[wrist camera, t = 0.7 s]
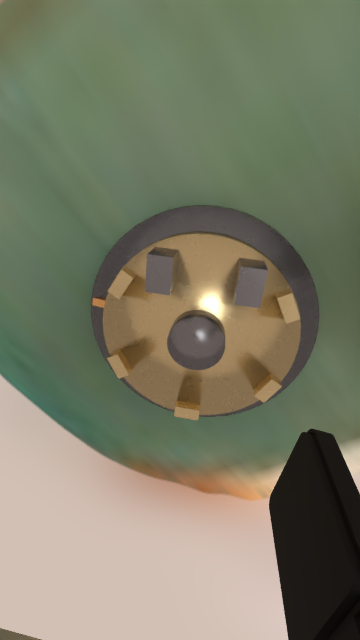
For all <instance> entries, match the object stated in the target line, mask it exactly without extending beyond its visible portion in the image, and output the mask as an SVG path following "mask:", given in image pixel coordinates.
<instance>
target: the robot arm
mask: <svg viewBox="0 0 360 640" xmlns="http://www.w3.org/2000/svg"><path fill="white" fill-rule="evenodd" d="M269 509H270V516H271V522H272V529H273V537H274V543H275V550H276V557H277V564H278V571H279V577H280V584H281V591H282V598H283V605H284V611H285V618H286V624H287V632H288V639H289V640H360V494H359V492H358V489H357V487H356V485H355V483H354V480H353V478H352V476H351V473H350V471H349V469H348V467H347V464H346V462H345V460H344V458H343V455H342V453H341V451H340V449H339V446H338V444H337V442H336V440H335V438H334V436H333V435H332V434H330V433H327V432H323V431H319V430H315V429H310V430H308V432H307V433H306V432H303V433H301V435H300V437H299V439H298V441H297V443H296V445H295V447H294V449H293V451H292V453H291V455H290V457H289V459H288V461H287V463H286V465H285V467H284V469H283V471H282V473H281V475H280V477H279V479H278V481H277V483H276V485H275V487H274V489H273V491H272V493H271V496H270V502H269ZM0 640H41V639H37V638H33V637H30V636H26V635H23V634H19V633H15V632H12V631H8V630H5V629H1V628H0Z"/></svg>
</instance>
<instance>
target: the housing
mask: <svg viewBox="0 0 360 640" xmlns="http://www.w3.org/2000/svg"><path fill="white" fill-rule="evenodd" d="M191 231H210V232H217V233H222V234H227V235H230V236H233V237H236V238H239V239H241V240H243V241H245V242H247V243H249V244H251V245H252V246H254V247H255V248H257V249H258V250H260V251H261V252H263V253H264V254H265V255H266V256H267V257H268V258H269V259H270V260H272V261H273V263H274V264H275V265H276V266H277V267H278V269H279V270H280V271H281V273H282V274H283V276H284V278H285V279H286V281H287V282H288V284H289V286H290V288H291V290H292V292H293V294H294V297H295V299H296V301H297V305H298V309H299V313H300V322H301V335H300V342H299V347H298V351H297V354H296V357H295V360H294V362H293V364H292V366H291V368H290V370H289V372H288V373H287V374H286V376H285V377H284V379H283V380H282V381H281V384H282V387H281V388H280V389H279V390H278V391H277V392H276V393H275V394H273V395H272V396H271V397H270V398H269V399H268V400H267V401H269V400H270V399H272V398H273V397H275V396H276V395H278V394H279V393H280V392H281V391H283V390H284V389H285V388H286V387H287V386H288V385H289V384H290V383H291V382H292V381H293V380H294V379H295V378H296V377H297V375H298V374H299V373H300V371H301V370H302V369H303V367H304V366H305V364H306V362H307V360H308V358H309V356H310V354H311V352H312V349H313V346H314V344H315V340H316V336H317V331H318V322H319V307H318V298H317V294H316V289H315V285H314V283H313V280H312V278H311V275H310V273H309V270H308V269H307V267H306V265H305V263H304V262H303V260H302V258H301V257H300V255H299V254H298V253H297V252H296V250H295V249H294V248H293V247H292V245H291V244H290V243H289V242H288V241H287V240H286V239H285V238H284V237H282V236H281V235H280V234H279V233H278V232H277V231H276V230H275V229H273V228H272V227H270V226H269V225H267V224H266V223H264V222H263V221H261V220H259V219H257V218H255V217H253V216H251V215H249V214H247V213H244V212H241V211H238V210H235V209H231V208H226V207H220V206H210V205H196V206H185V207H180V208H176V209H172V210H168V211H165V212H163V213H160V214H158V215H155V216H153V217H151V218H149V219H147V220H145V221H144V222H142V223H140V224H138V225H137V226H135V227H134V228H133V229H131V230H130V231H129V232H128V233H126V234H125V235H124V236H123V237H122V238H121V239H120V240H119V241H118V242H117V243H116V244H115V245H114V247H113V248H112V249H111V251H110V252H109V253H108V255H107V256H106V258H105V260H104V262H103V263H102V265H101V267H100V269H99V272H98V275H97V277H96V280H95V283H94V288H93V293H92V304H91V313H92V324H93V328H94V333H95V337H96V340H97V342H98V345H99V348H100V350H101V352H102V354H103V356H104V358H105V360H106V361H107V363H108V364H109V366H110V367H111V365H110V363H109V361H108V360H107V357H108V356H109V352H108V349H107V346H106V342H105V338H104V333H103V310H104V305H105V300H106V297H107V294H108V290H109V288H110V286H111V285H112V283H113V281H114V279H115V277H116V276H117V274H118V273H119V272H120V270H121V269H122V268H123V267H124V266H125V265H126V264H127V263H128V262H129V261H130V260H131V259H132V258H133V257H134V256H135V255H136V254H138V253H139V252H140V251H142V250H143V249H144V248H146V247H147V246H149V245H150V244H152V243H154V242H156V241H158V240H160V239H162V238H165V237H168V236H171V235H174V234H178V233H183V232H191ZM111 369H112V370H113V368H112V367H111ZM113 371H114V370H113ZM115 374H116V373H115ZM120 380H122V381H123V382H124V383H125V384H126V385H127V386H128V387H129V388H130V389H131V390H133V391H134V392H135V393H137V394H138V395H139V396H141V397H143V398H144V399H146V400H148V401H149V402H151V403H153V404H155V405H157V406H160V407H162V408H164V409H167V410H170V411H173V412H175V410H172V409H169V408H166V407H163V406H161V405H159V404H157V403H155V402H153V401H151V400H150V399H148V398H146V397H145V396H143V395H142V394H141V393H139V392H138V391H137V390H136V389H135V388H133V387H132V386H131V385H130V384H129V383H128V382H127V381H126V379H125V378H124V377H122V378H120ZM267 401H266V402H267ZM261 404H263V402H262V401H261V400H259V401H257V402H255V403H254V404H251V405H249V406H247V407H245V408H242V409H239V410H236V411H233V412H228V413H224V414H215V415H199V416H200V417H215V416H226V415H231V414H236V413H240V412H243V411H247V410H250V409H252V408H255V407H257V406H259V405H261Z"/></svg>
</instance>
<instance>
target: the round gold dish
mask: <svg viewBox="0 0 360 640" xmlns="http://www.w3.org/2000/svg"><path fill="white" fill-rule="evenodd" d="M103 333H104V338H105V342H106V346H107V349H108V352H109V356H108V357H107V360H108V361H109V363H110V365H111V367H112V368H113V370H114V372H115V373H116V375H117V377H118V379H119V378H122V377H124V378H125V379H126V381H127V382H128V383H129V384H130V385H131V386H132V387H133V388H135V389H136V390H137V391H138V392H139V393H141V394H142V395H143V396H145V397H146V398H148V399H150V400H151V401H153V402H155V403H157V404H159V405H161V406H163V407H166V408H169V409H172V410H175V414H174V416H175V417H181V418H187V419H192V420H198V417H199V415H215V414H224V413H228V412H233V411H236V410H239V409H242V408H245V407H247V406H249V405H251V404H254V403H255V402H257V401H259V400H261V401H262V402H263V403H265V402H266V401H267V400H268V399H269V398H270V397H271V396H272V395H273V394H275V393H276V392H277V391H278V390H279V389H280V388H281V387H282V384H281V381H282V380H283V379H284V377H285V376H286V374H287V373H288V372H289V370H290V368H291V366H292V364H293V362H294V360H295V357H296V354H297V351H298V347H299V342H300V335H301V322H300V313H299V309H298V305H297V301H296V299H295V297H294V294H293V292H292V290H291V288H290V286H289V284H288V282H287V281H286V279H285V278H284V276H283V274H282V273H281V271H280V270H279V269H278V267H277V266H276V265H275V264H274V263H273V261H272V260H270V259H269V258H268V257H267V256H266V255H265V254H264V253H263V252H261V251H260V250H258V249H257V248H255V247H254V246H252V245H251V244H249V243H247V242H245V241H243V240H241V239H239V238H236V237H233V236H230V235H227V234H222V233H217V232H210V231H191V232H183V233H178V234H174V235H171V236H168V237H165V238H162V239H160V240H158V241H156V242H154V243H152V244H150V245H149V246H147V247H146V248H144V249H143V250H142V251H140V252H139V253H138V254H136V255H135V256H134V257H133V258H132V259H131V260H130V261H129V262H128V263H127V264H126V265H125V266H124V267H123V268H122V269H121V270H120V272H119V273H118V274H117V276H116V277H115V279H114V281H113V283H112V285H111V286H110V288H109V290H108V294H107V297H106V300H105V305H104V310H103Z"/></svg>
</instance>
